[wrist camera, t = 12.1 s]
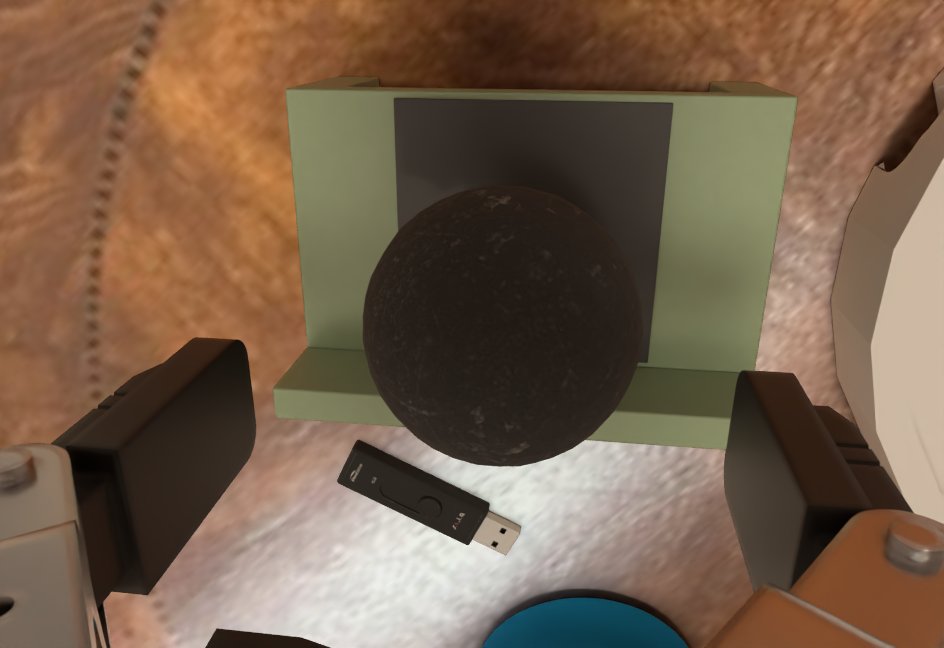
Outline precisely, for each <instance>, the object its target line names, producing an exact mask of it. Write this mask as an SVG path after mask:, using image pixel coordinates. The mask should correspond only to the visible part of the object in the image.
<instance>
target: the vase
mask: <svg viewBox="0 0 944 648" xmlns="http://www.w3.org/2000/svg"><path fill="white" fill-rule="evenodd" d="M482 648H688V646H687V645H686V643H685V642H684V641H683V640H682V639H681V637H680V636H679V635H678V634H677V633H676V632H675V631H674V630H672V629H671V628H670V627H669V626H668V625H666V624H665V623H664V622H662V621H661V620H659V619H658V618H656V617H654V616H652V615H651V614H649V613H647V612H645V611H643V610H640V609H638V608H635V607H633V606H630V605H627V604H624V603H620V602H616V601H611V600H606V599H598V598H566V599H559V600H553V601H549V602H545V603H541V604H538V605H535V606H532V607H530V608H527V609H525V610H523V611H521V612H519V613H517V614H515V615H514V616H512V617H511V618H509V619H508V620H506V621H505V622H504V623H502V624H501V625H500V626H499V627H498V628H497V629H496V630H495V631H494V632H493V633H492V634H491V635H490V636H489V638H488V639H487V640H486V642H485V643H484V645H483V647H482Z"/></svg>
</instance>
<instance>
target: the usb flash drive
mask: <svg viewBox="0 0 944 648" xmlns="http://www.w3.org/2000/svg"><path fill="white" fill-rule="evenodd" d="M337 482H338V483H339V484H341V485H343V486H345V487H347V488H349V489H351V490H353V491H355V492H358V493H360V494H362V495H364V496H366V497H368V498H370V499H372V500H374V501H376V502H378V503H380V504H383V505H385V506H387V507H389V508H391V509H393V510H395V511H397V512H399V513H401V514H403V515H405V516H408V517H410V518H412V519H414V520H416V521H418V522H420V523H422V524H424V525H426V526H428V527H430V528H433V529H435V530H437V531H439V532H441V533H443V534H445V535H447V536H449V537H451V538H453V539H455V540H458V541H460V542H462V543H464V544H466V545H469V544H470V542H471V541H472V539H473V540H475V541H477V542H479V543H481V544H483V545H485V546H487V547H489V548H491V549H493V550H496V551H498V552H500V553H502V554H504V555H507V553H508V552H509V550H510V549H511V547H512V545H513V544H514V542H515V541H516V539H517V538H518V536H519V535H520V531H521V527H520V526H518V525H516V524H514V523H512V522H510V521H508V520H506V519H504V518H501V517H499V516H497V515H495V514H493V513H491V512H489V505H490V504H489V503H488V502H486V501H484V500H482V499H480V498H478V497H476V496H474V495H472V494H470V493H468V492H466V491H464V490H462V489H460V488H458V487H455V486H453V485H451V484H449V483H447V482H445V481H443V480H441V479H439V478H437V477H435V476H433V475H431V474H429V473H427V472H425V471H422V470H420V469H418V468H416V467H414V466H412V465H410V464H408V463H406V462H404V461H402V460H400V459H398V458H396V457H394V456H392V455H389V454H387V453H385V452H383V451H381V450H379V449H377V448H375V447H373V446H371V445H369V444H367V443H365V442H363V441H361V440H357V441H356V443H355V445H354V447H353V449H352V451H351V453H350V455H349V457H348V459H347V461H346V463H345V465H344V467H343V469H342V471H341V473H340V476H339V478H338V480H337Z"/></svg>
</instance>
